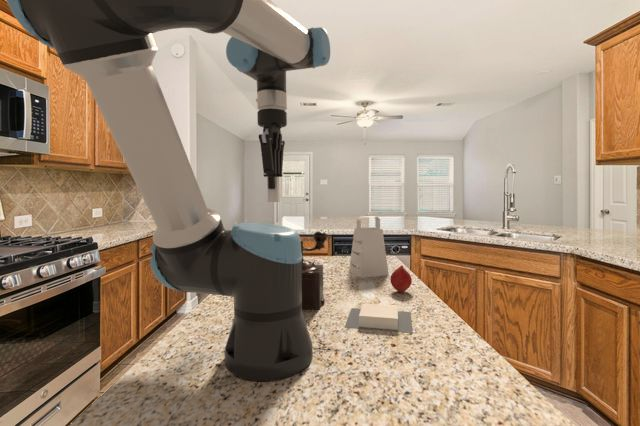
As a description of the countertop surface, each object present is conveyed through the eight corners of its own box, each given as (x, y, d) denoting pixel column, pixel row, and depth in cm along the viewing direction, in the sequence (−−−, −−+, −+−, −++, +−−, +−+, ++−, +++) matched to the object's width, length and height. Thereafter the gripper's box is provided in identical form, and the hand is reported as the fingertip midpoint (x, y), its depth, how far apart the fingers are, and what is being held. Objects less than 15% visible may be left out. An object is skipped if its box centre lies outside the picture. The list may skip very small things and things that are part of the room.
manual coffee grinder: (322, 312, 81) (321, 238, 80) (277, 310, 83) (276, 237, 82) (328, 292, 97) (328, 230, 96) (290, 291, 98) (289, 230, 97)
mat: (412, 334, 68) (412, 332, 68) (344, 328, 71) (344, 327, 71) (410, 313, 80) (410, 312, 80) (351, 309, 83) (351, 308, 83)
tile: (397, 316, 77) (397, 330, 70) (362, 313, 79) (358, 327, 71) (397, 305, 77) (397, 318, 69) (362, 303, 79) (358, 315, 71)
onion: (388, 294, 95) (388, 266, 94) (393, 288, 100) (393, 262, 99) (408, 297, 92) (409, 268, 91) (413, 291, 97) (413, 264, 97)
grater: (348, 270, 123) (348, 216, 122) (374, 268, 126) (375, 215, 125) (360, 277, 113) (360, 218, 112) (388, 275, 116) (389, 217, 115)
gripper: (267, 116, 94) (269, 201, 96) (247, 105, 82) (249, 202, 83) (293, 115, 93) (294, 201, 94) (277, 103, 80) (278, 202, 82)
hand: (273, 201), depth 89 cm, fingers closed
